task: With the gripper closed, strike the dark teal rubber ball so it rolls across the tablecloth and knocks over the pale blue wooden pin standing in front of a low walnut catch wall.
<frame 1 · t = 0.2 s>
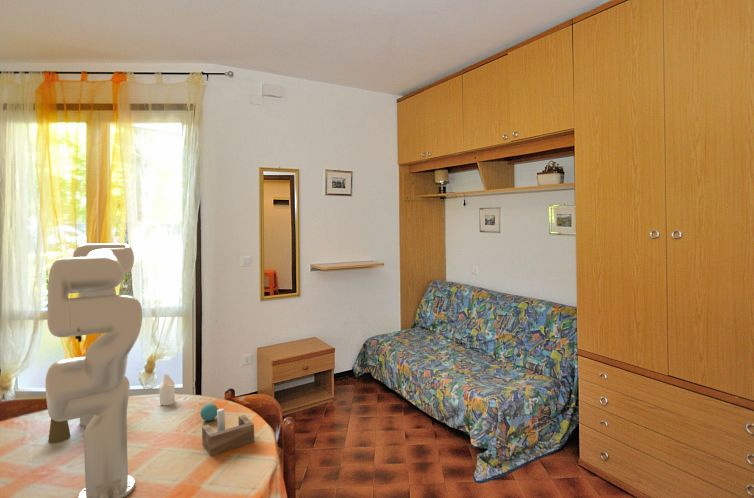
hand: (98, 338, 128), 37 cm above the table, tool pointing down, fingers open, 9 cm apart
catch wall: (231, 447, 133), on the table
cork: (59, 439, 139), on the table
roll: (167, 403, 169), on the table
pin: (221, 434, 142), on the table
ball: (209, 412, 153), on the table
supplement box: (100, 421, 152), on the table
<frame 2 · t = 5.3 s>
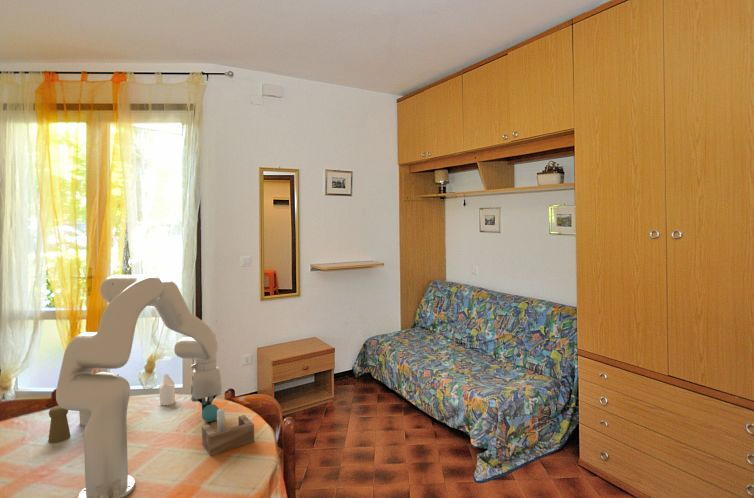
hand: (206, 413, 156), 1 cm above the table, tool pointing down, fingers closed
ball: (210, 413, 152), on the table, touching gripper
everything else where it was.
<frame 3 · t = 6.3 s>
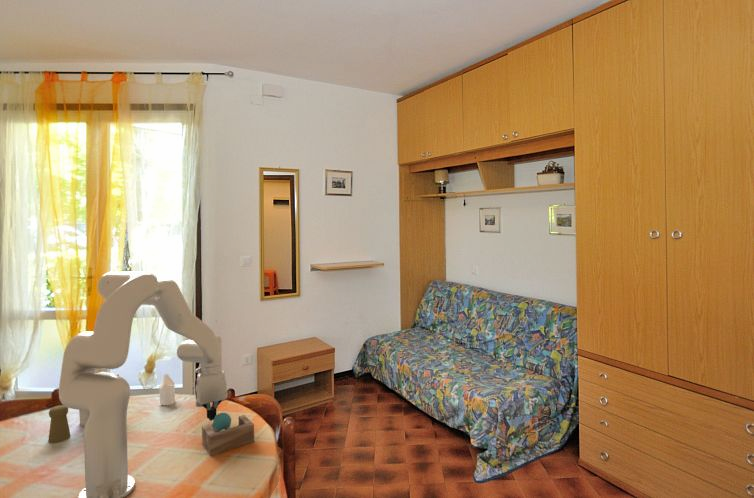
hand: (211, 418, 150), 1 cm above the table, tool pointing down, fingers closed
pin: (222, 432, 141), point 1 cm above the table, tilted 90°
ball: (222, 421, 145), on the table
everything else where it was.
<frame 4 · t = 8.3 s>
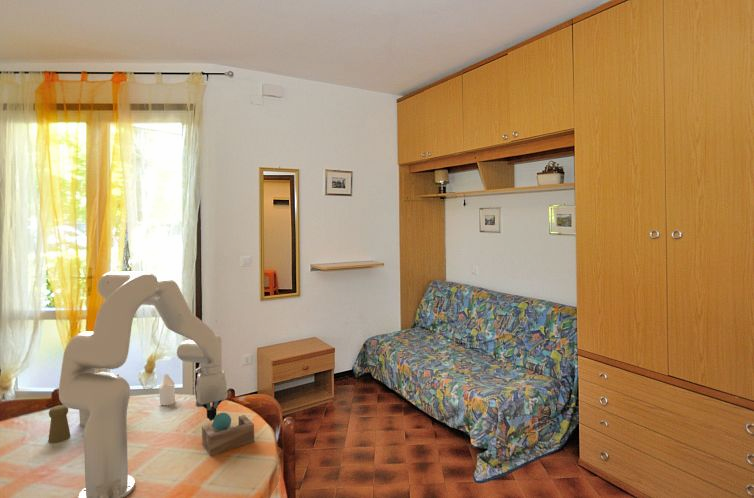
hand: (211, 418, 150), 2 cm above the table, tool pointing down, fingers closed
pin: (232, 429, 143), point 1 cm above the table, tilted 90°
everything else where it was.
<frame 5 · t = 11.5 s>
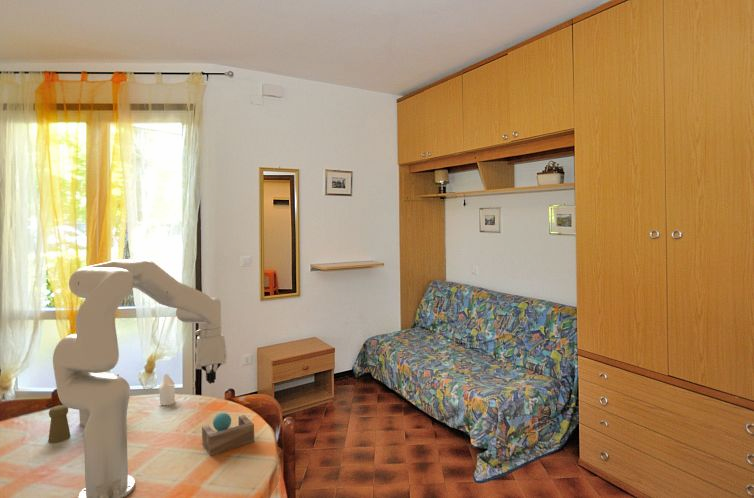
hand: (211, 382, 150), 15 cm above the table, tool pointing down, fingers closed
nothing on the table moved.
at the end: pin tilted 90°; pin never touched the robot; ball moved 11.1 cm from its start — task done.
